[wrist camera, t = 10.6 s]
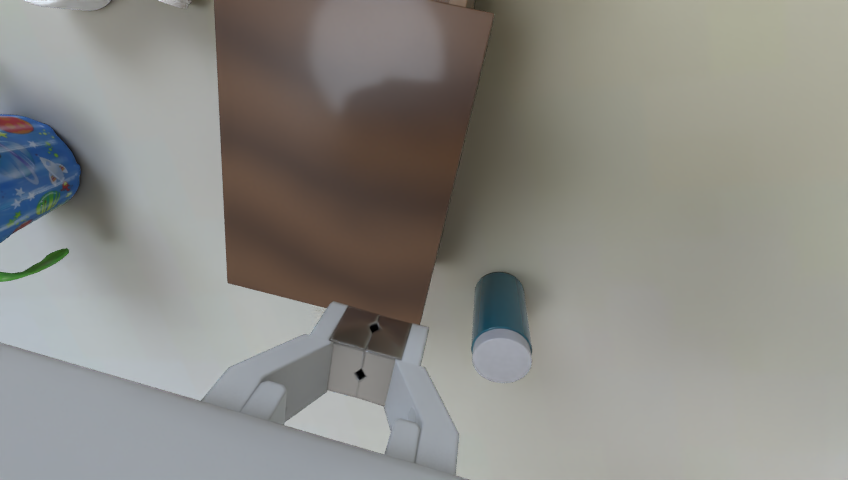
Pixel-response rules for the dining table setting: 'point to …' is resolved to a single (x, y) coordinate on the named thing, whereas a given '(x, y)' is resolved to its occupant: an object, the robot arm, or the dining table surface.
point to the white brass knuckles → (93, 4)
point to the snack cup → (32, 180)
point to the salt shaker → (500, 329)
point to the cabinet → (343, 143)
